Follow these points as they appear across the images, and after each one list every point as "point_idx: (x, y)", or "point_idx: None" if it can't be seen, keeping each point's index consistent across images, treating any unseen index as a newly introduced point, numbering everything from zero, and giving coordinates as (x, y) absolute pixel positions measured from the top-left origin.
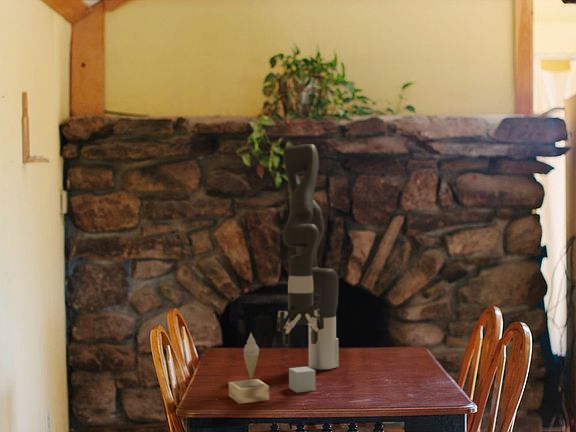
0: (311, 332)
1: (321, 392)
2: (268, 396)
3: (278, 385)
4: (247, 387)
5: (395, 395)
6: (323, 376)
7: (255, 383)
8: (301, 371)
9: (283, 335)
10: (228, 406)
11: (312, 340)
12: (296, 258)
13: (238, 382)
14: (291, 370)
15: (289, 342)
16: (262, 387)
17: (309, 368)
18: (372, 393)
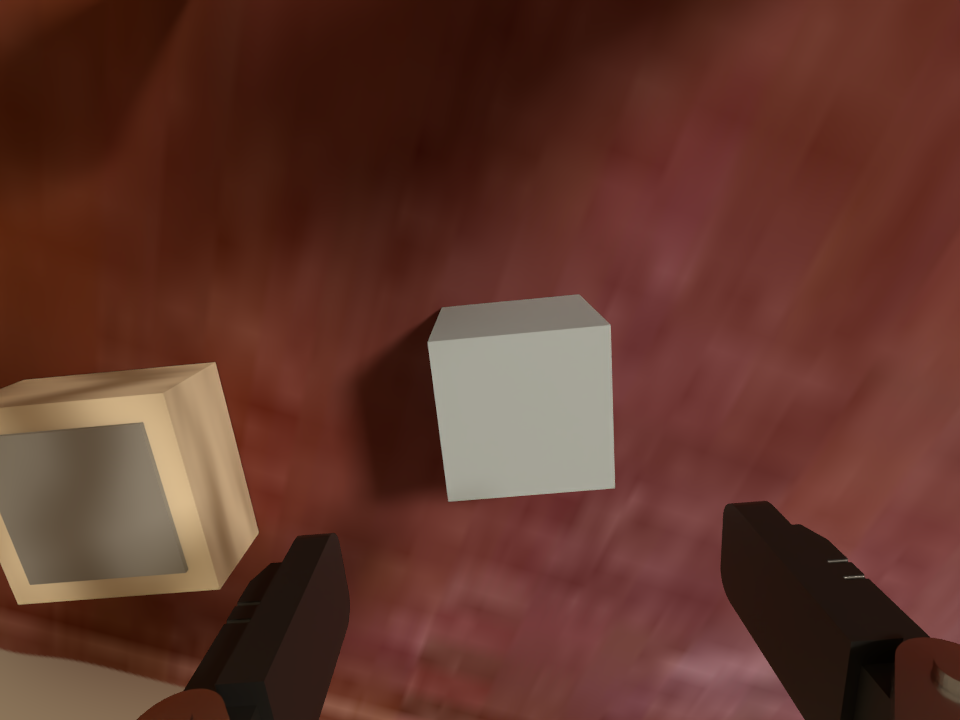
0: (828, 636)
1: None
2: (246, 545)
3: (386, 218)
4: (75, 580)
5: None
6: (823, 41)
7: (130, 526)
8: (496, 480)
9: (199, 686)
10: None
11: (746, 569)
12: None
13: (7, 467)
14: (435, 395)
15: (334, 657)
16: (177, 589)
17: (598, 405)
18: None
